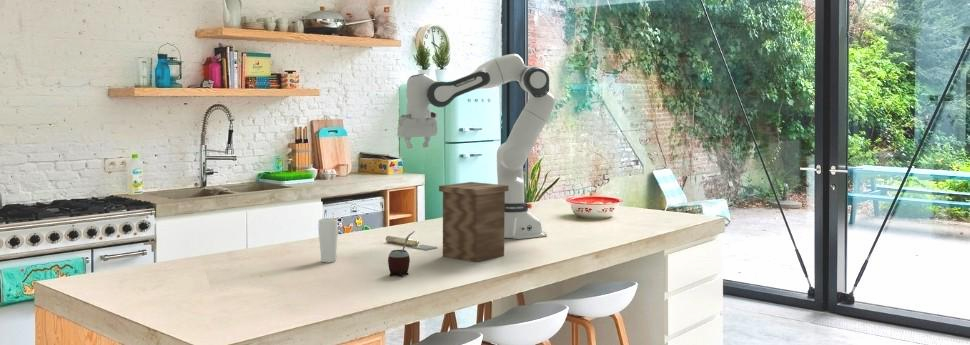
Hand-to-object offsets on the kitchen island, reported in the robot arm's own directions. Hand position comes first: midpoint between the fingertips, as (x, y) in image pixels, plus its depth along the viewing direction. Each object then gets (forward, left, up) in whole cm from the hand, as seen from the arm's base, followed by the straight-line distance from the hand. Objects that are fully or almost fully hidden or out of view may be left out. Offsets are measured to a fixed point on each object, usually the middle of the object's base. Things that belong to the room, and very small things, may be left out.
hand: (417, 148), depth 356 cm
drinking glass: (+44, +38, -37) cm, 69 cm away
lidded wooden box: (-8, +45, -37) cm, 59 cm away
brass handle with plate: (+8, +17, -37) cm, 41 cm away
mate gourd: (+26, +68, -37) cm, 82 cm away
